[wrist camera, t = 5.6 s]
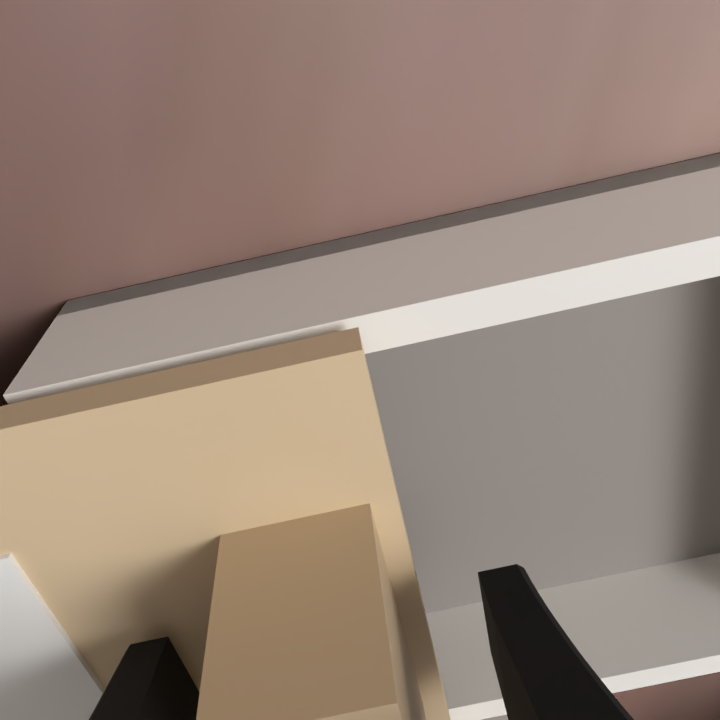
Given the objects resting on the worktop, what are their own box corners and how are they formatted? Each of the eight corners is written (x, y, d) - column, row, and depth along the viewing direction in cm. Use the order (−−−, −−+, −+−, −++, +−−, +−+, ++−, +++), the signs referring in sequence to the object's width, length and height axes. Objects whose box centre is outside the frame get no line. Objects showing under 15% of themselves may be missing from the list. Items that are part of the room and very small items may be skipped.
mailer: (805, 133, 11) (956, 183, 9) (747, 542, 16) (830, 649, 14) (67, 300, 12) (2, 395, 9) (236, 647, 17) (224, 771, 14)
